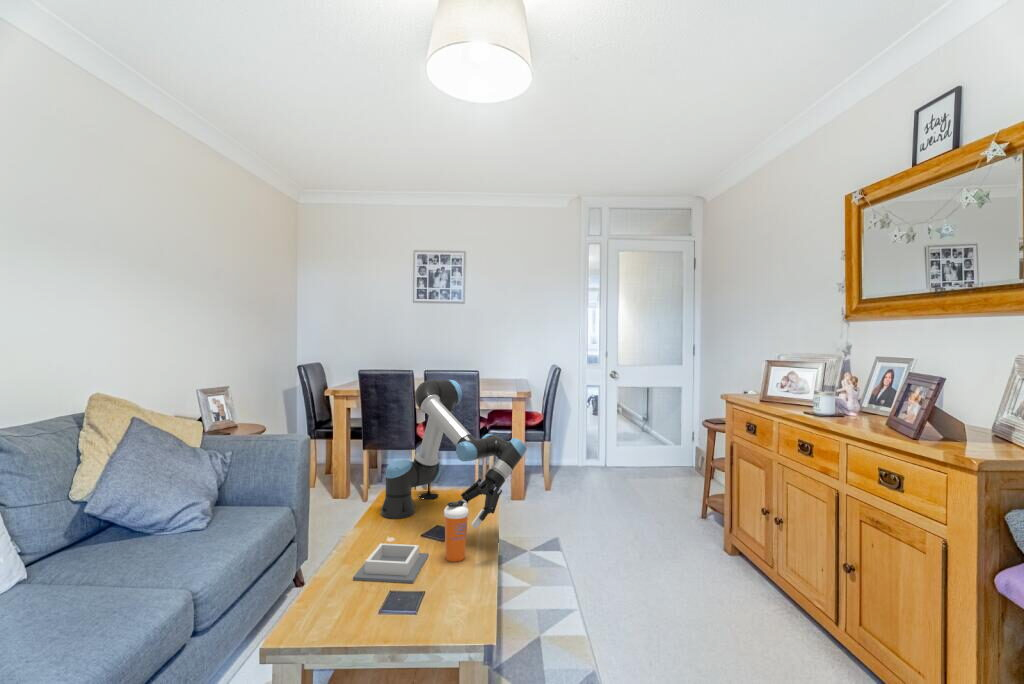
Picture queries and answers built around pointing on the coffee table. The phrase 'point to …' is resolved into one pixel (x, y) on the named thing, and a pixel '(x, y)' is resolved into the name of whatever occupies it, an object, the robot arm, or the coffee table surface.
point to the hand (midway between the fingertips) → (464, 521)
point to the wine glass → (428, 494)
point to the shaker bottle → (455, 530)
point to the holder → (393, 564)
